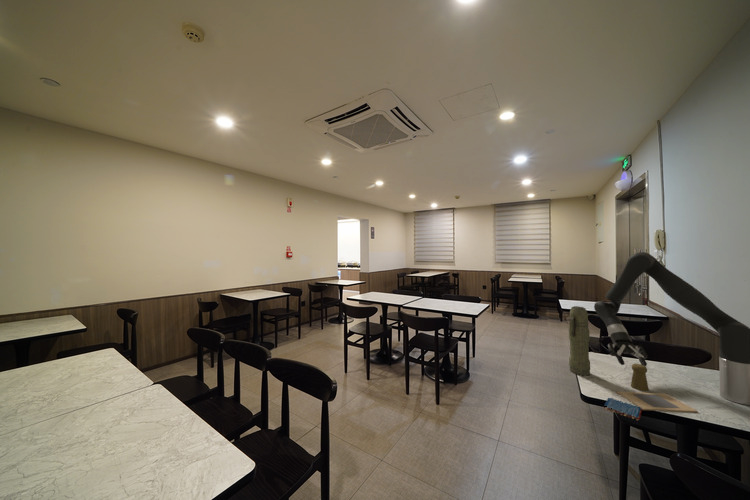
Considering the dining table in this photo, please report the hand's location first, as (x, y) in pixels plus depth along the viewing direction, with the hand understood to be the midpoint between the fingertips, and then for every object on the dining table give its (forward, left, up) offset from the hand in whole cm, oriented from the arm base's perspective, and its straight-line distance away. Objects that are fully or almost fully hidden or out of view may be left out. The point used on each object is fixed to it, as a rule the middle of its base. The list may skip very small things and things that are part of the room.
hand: (633, 365), depth 127 cm
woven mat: (+23, +23, -10) cm, 34 cm away
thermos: (+18, -11, -9) cm, 23 cm away
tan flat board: (+5, +16, -9) cm, 19 cm away
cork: (+1, +4, -9) cm, 10 cm away
